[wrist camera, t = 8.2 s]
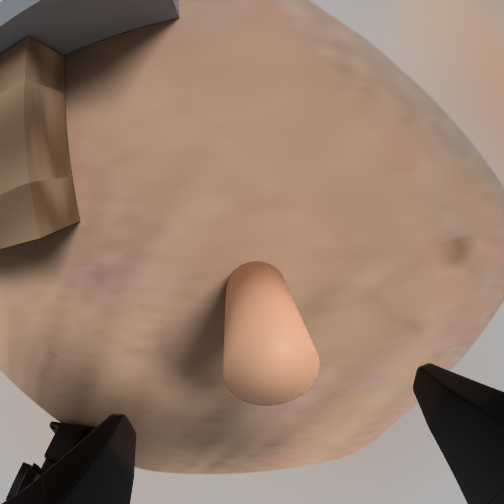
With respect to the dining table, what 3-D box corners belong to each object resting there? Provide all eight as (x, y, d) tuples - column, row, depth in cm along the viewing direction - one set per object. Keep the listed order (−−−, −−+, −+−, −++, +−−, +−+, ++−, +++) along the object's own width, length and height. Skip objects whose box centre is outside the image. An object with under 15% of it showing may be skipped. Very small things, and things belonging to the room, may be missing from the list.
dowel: (287, 311, 16) (319, 396, 10) (231, 319, 16) (232, 410, 9) (282, 257, 15) (318, 324, 9) (221, 266, 15) (214, 340, 9)
